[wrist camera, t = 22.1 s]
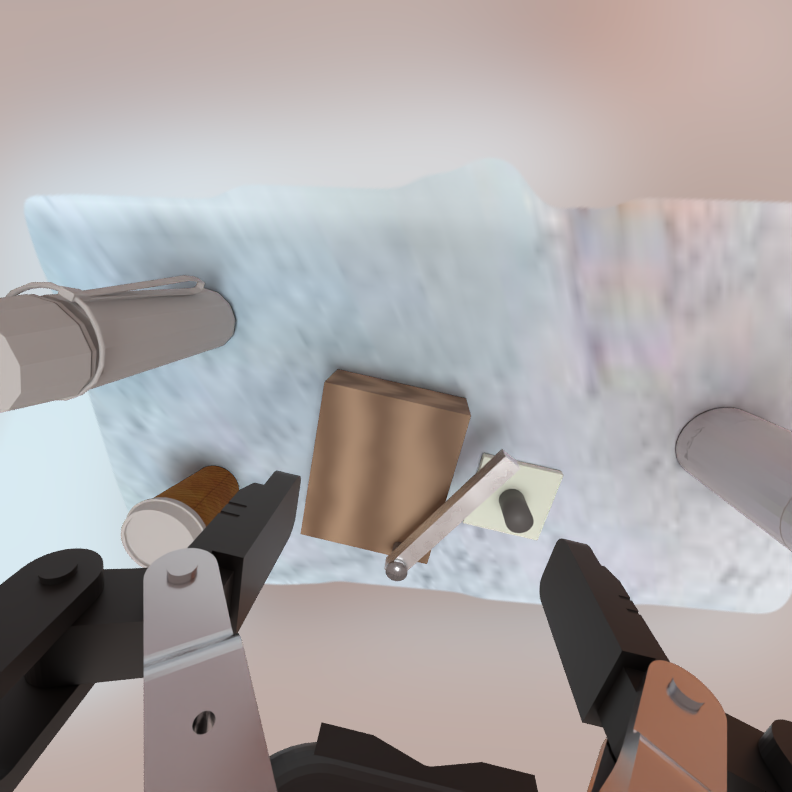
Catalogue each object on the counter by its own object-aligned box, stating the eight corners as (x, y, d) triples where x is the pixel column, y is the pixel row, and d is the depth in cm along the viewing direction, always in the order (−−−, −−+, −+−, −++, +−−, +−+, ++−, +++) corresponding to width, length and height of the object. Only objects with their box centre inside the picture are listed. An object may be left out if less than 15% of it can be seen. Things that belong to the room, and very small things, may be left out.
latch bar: (517, 461, 39) (523, 472, 37) (399, 569, 44) (397, 584, 42) (500, 447, 39) (505, 457, 36) (383, 557, 44) (381, 572, 42)
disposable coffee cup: (202, 520, 55) (142, 585, 43) (173, 463, 52) (100, 516, 41) (260, 507, 53) (214, 570, 41) (233, 447, 50) (175, 497, 39)
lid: (559, 469, 48) (576, 495, 42) (534, 533, 51) (547, 565, 45) (482, 451, 48) (489, 474, 42) (462, 516, 51) (466, 546, 45)
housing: (465, 398, 45) (472, 420, 38) (427, 532, 52) (426, 573, 45) (337, 368, 46) (320, 385, 39) (314, 505, 52) (296, 541, 45)
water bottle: (226, 360, 47) (15, 446, 23) (170, 326, 46) (-108, 378, 22) (257, 296, 44) (53, 318, 20) (197, 258, 43) (-86, 235, 19)
